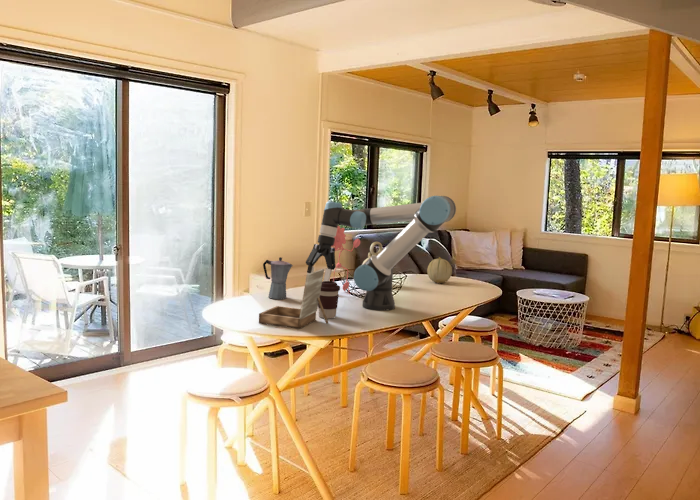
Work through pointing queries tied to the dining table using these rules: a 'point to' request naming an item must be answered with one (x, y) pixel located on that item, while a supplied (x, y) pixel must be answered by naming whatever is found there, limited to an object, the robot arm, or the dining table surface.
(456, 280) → the dining table surface
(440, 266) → the cantaloupe
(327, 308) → the coffee cup
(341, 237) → the figurine
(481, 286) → the dining table surface
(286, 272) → the moka pot
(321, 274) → the cold frame
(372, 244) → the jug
